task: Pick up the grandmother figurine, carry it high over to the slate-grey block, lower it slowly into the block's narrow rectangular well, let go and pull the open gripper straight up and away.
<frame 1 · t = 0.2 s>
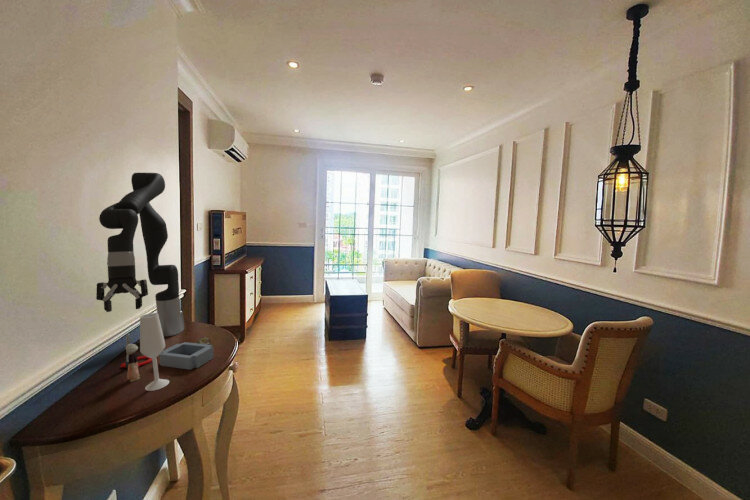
hand: (123, 310, 107), 23 cm above the table, tool pointing down, fingers open, 8 cm apart
mineral rock: (200, 348, 129), on the table
tow hook: (139, 363, 117), on the table
grandmother figurine: (134, 379, 105), on the table
well block: (187, 360, 117), on the table
champagne flute: (157, 385, 101), on the table
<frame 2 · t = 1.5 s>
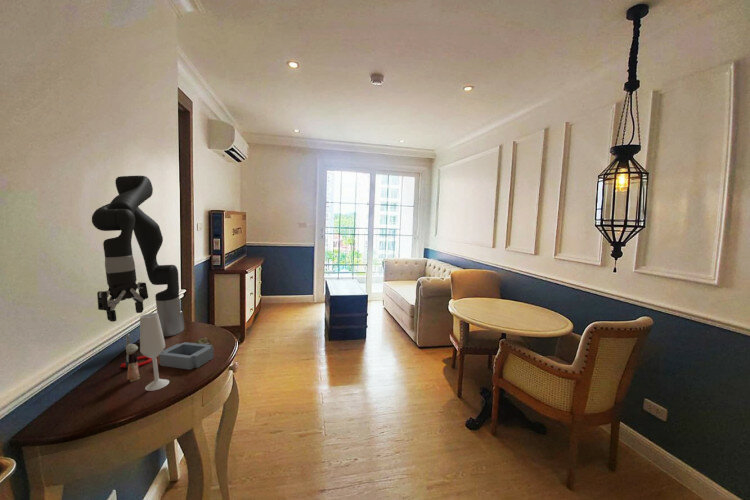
hand: (126, 316, 102), 22 cm above the table, tool pointing down, fingers open, 8 cm apart
nothing on the table moved.
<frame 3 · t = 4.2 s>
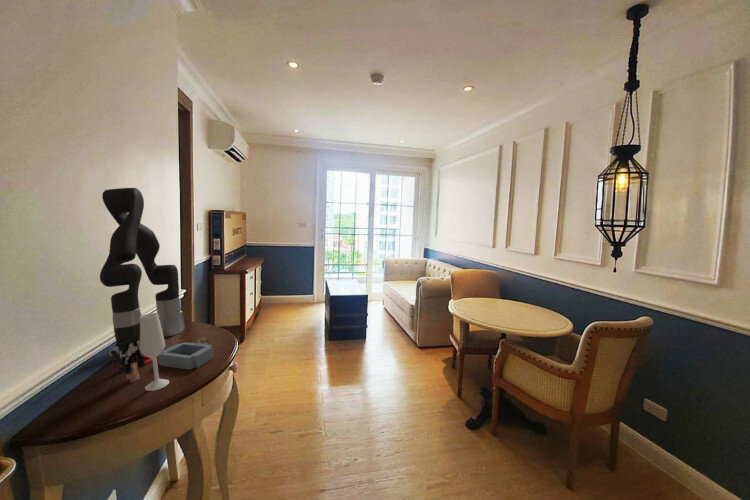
hand: (134, 369, 104), 3 cm above the table, tool pointing down, fingers closed on grandmother figurine, 3 cm apart
grandmother figurine: (134, 379, 105), on the table, touching gripper
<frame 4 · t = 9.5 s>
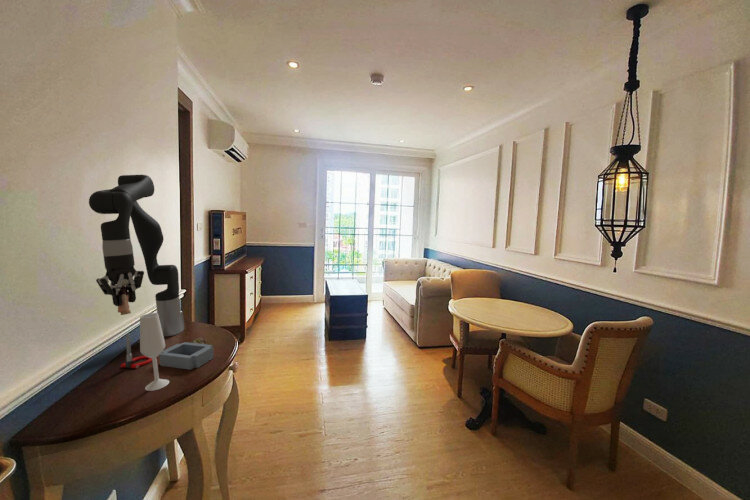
hand: (125, 303, 101), 27 cm above the table, tool pointing down, fingers closed on grandmother figurine, 3 cm apart
mineral rock: (194, 348, 129), on the table
grandmother figurine: (125, 313, 102), point 23 cm above the table, touching gripper
everything else where it was.
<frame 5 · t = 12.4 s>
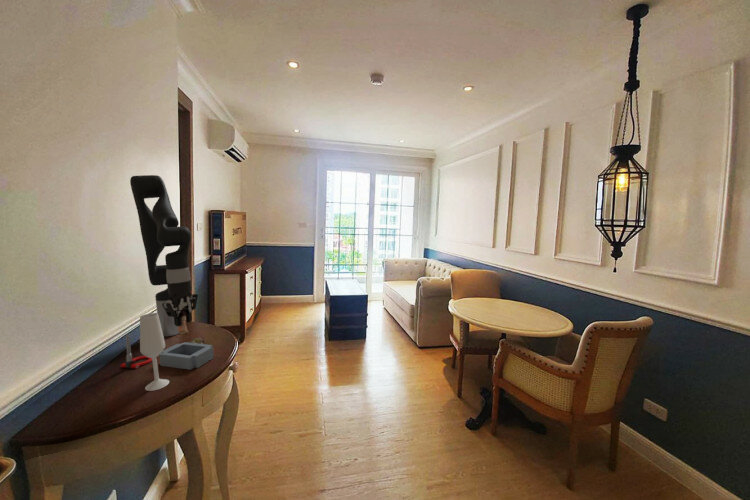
hand: (183, 323, 115), 15 cm above the table, tool pointing down, fingers closed on grandmother figurine, 3 cm apart
grandmother figurine: (183, 332, 116), point 11 cm above the table, touching gripper
when the fingers open (6 cm above the table, at t = 15.1 s): grandmother figurine drops 2 cm, resting on well block.
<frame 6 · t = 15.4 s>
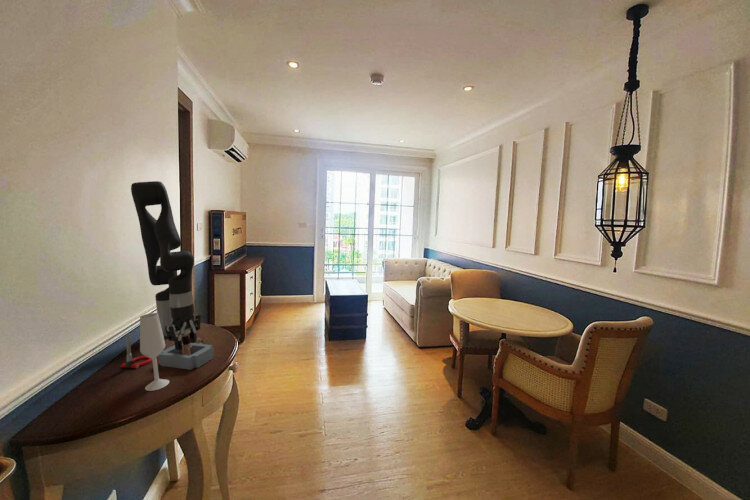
hand: (186, 345, 116), 6 cm above the table, tool pointing down, fingers open, 5 cm apart
grandmother figurine: (187, 359, 118), resting on well block
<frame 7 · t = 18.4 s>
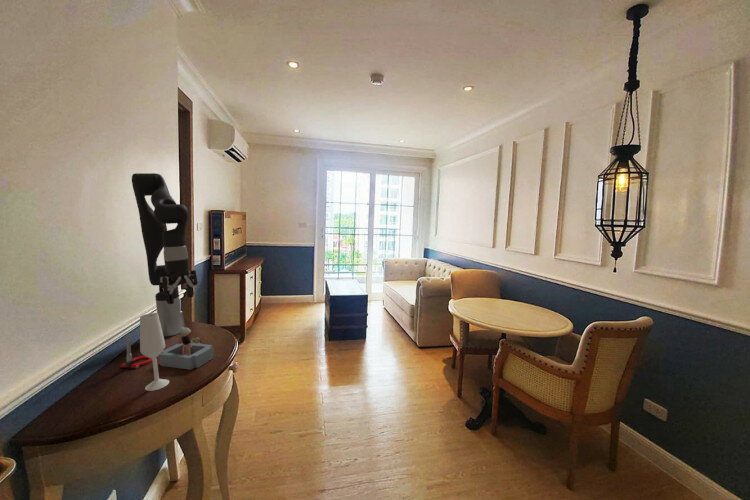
hand: (180, 300, 114), 24 cm above the table, tool pointing down, fingers open, 8 cm apart
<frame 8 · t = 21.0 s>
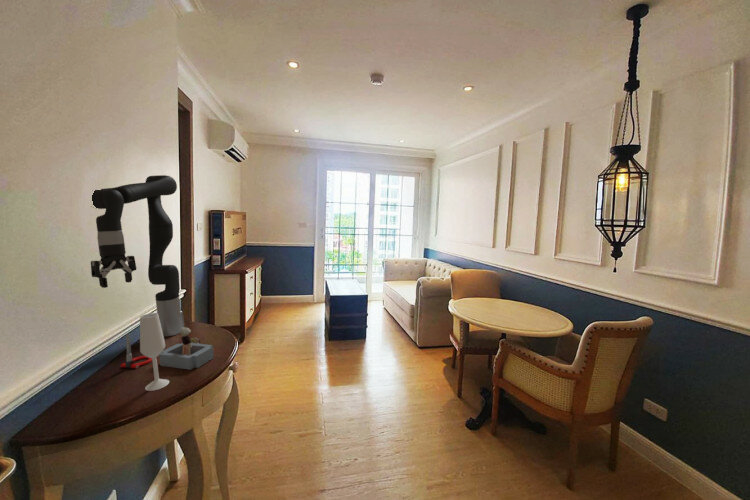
hand: (117, 284, 116), 30 cm above the table, tool pointing down, fingers open, 8 cm apart
at the end: grandmother figurine 0.6 cm off-centre on the well block, point 0.3 cm above the well block's base; grandmother figurine tilted 0°; the gripper is holding nothing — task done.
